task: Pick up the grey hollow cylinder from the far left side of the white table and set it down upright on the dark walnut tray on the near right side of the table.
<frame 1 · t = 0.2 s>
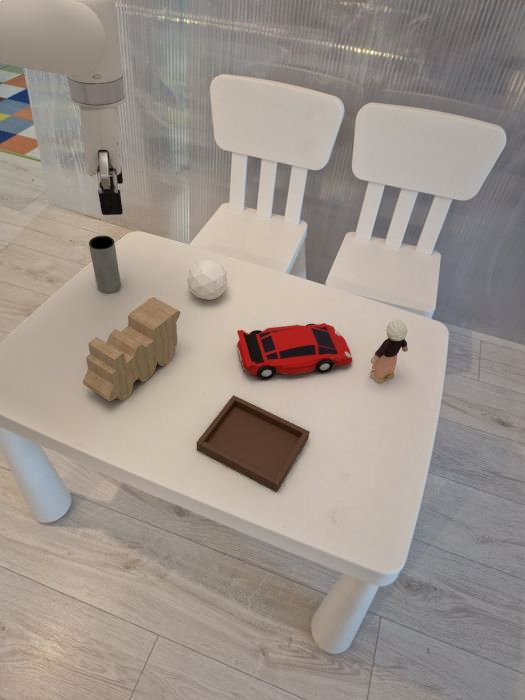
hand: (113, 197, 86), 21 cm above the table, tool pointing down, fingers open, 9 cm apart
grey hollow cylinder: (109, 287, 104), on the table
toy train: (136, 373, 89), on the table
geometric ball: (207, 295, 104), on the table
tray: (253, 444, 80), on the table
grandmother figurine: (379, 376, 92), on the table
toy car: (293, 357, 94), on the table
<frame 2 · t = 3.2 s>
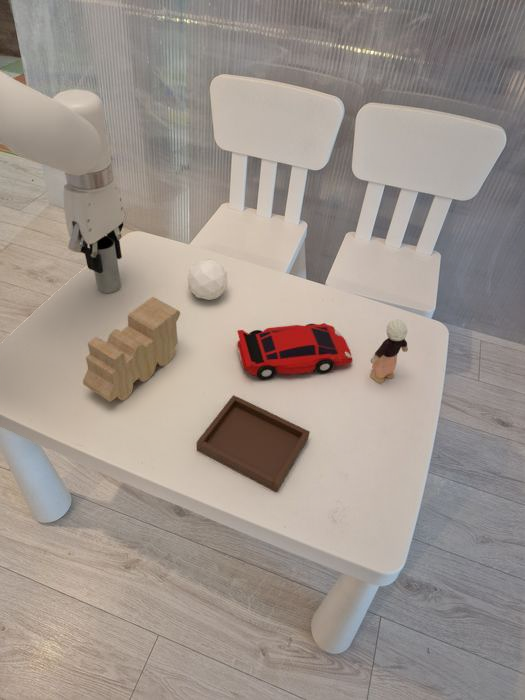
hand: (105, 262, 99), 6 cm above the table, tool pointing down, fingers closed on grey hollow cylinder, 4 cm apart
grey hollow cylinder: (109, 287, 104), on the table, touching gripper
everything else where it was.
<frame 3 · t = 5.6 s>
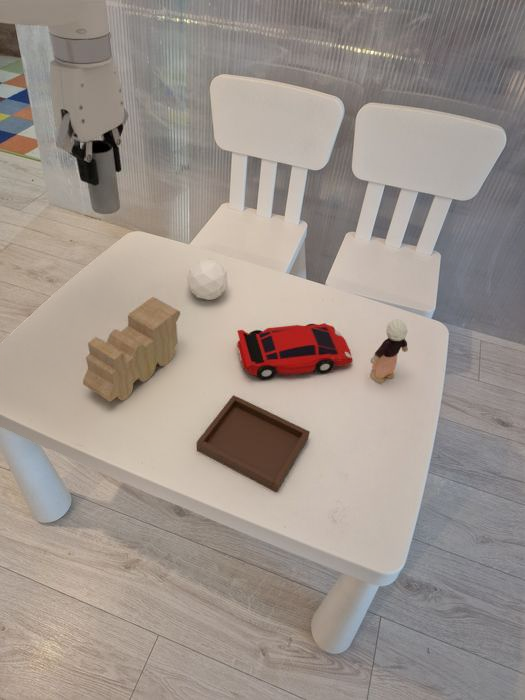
hand: (101, 174, 82), 26 cm above the table, tool pointing down, fingers closed on grey hollow cylinder, 4 cm apart
grey hollow cylinder: (106, 208, 87), point 20 cm above the table, touching gripper
everything else where it was.
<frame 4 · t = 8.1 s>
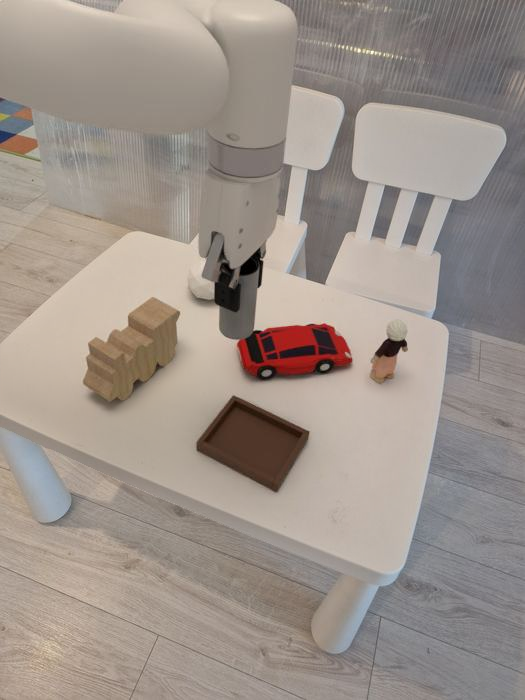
hand: (238, 293, 64), 26 cm above the table, tool pointing down, fingers closed on grey hollow cylinder, 4 cm apart
grey hollow cylinder: (236, 329, 68), point 20 cm above the table, touching gripper
everything else where it was.
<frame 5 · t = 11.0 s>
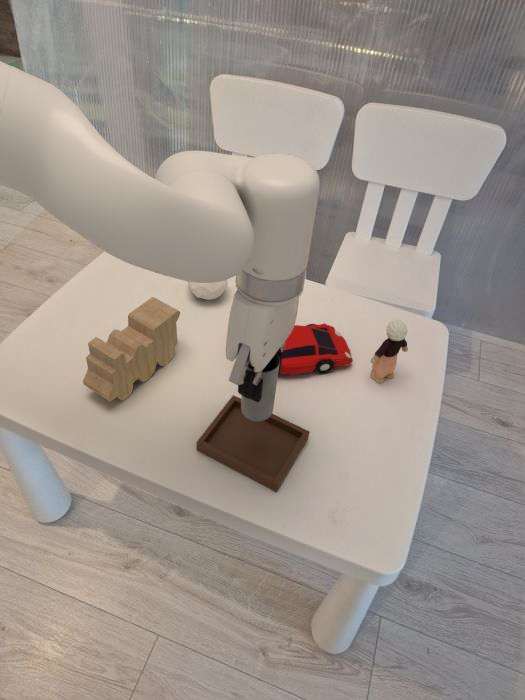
hand: (259, 382, 70), 15 cm above the table, tool pointing down, fingers closed on grey hollow cylinder, 4 cm apart
grey hollow cylinder: (256, 410, 74), point 9 cm above the table, touching gripper
everything else where it was.
when the fingers open (6 cm above the table, at t = 13.2 s): grey hollow cylinder stays where it is, resting on tray.
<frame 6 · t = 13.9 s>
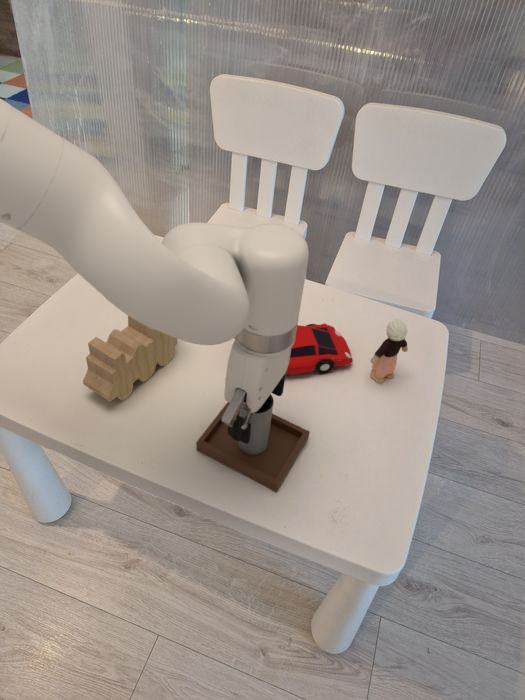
hand: (256, 413, 74), 8 cm above the table, tool pointing down, fingers open, 9 cm apart
grey hollow cylinder: (252, 443, 80), resting on tray
everything else where it was.
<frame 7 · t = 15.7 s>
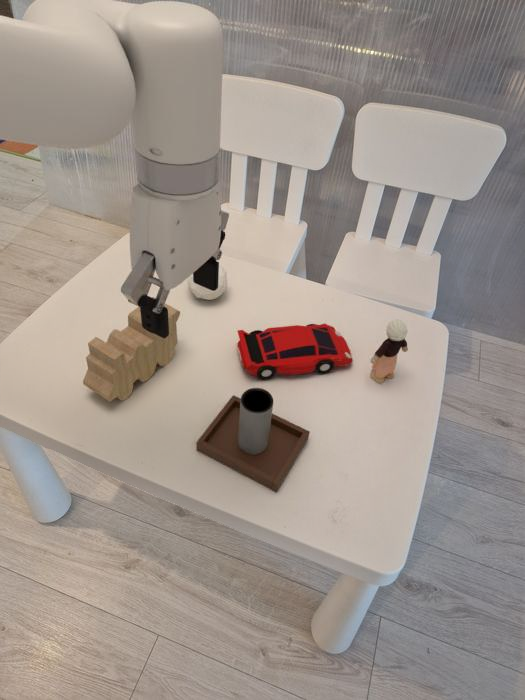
hand: (181, 307, 60), 27 cm above the table, tool pointing down, fingers open, 9 cm apart
nothing on the table moved.
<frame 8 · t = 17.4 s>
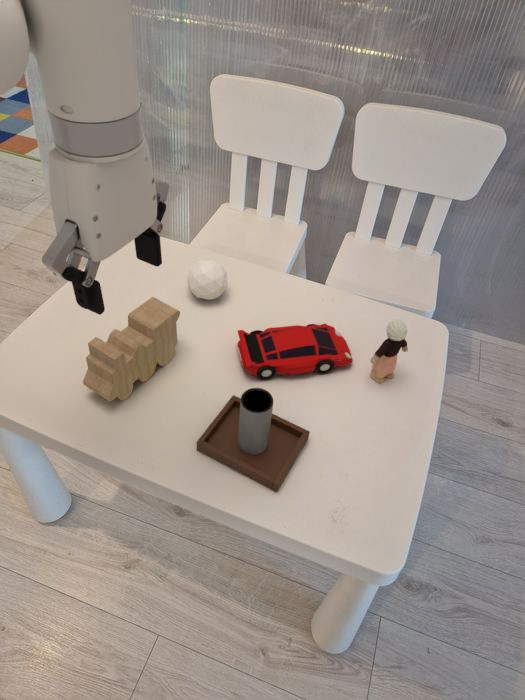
hand: (121, 283, 57), 30 cm above the table, tool pointing down, fingers open, 9 cm apart
nothing on the table moved.
at the end: grey hollow cylinder inside the target area in the tray (0.1 cm from its centre), point 0.4 cm above the tray's base; grey hollow cylinder tilted 0°; the gripper is holding nothing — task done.
